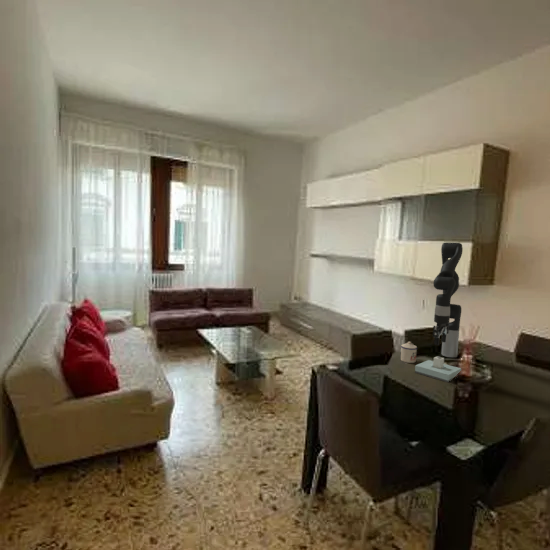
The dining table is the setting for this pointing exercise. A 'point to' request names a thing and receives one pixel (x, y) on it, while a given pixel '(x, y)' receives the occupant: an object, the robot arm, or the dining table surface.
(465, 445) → the dining table surface
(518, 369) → the dining table surface
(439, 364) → the cream block with knob
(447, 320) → the robot arm
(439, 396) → the dining table surface
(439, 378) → the outlet block
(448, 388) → the dining table surface
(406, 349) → the teacup with lid
